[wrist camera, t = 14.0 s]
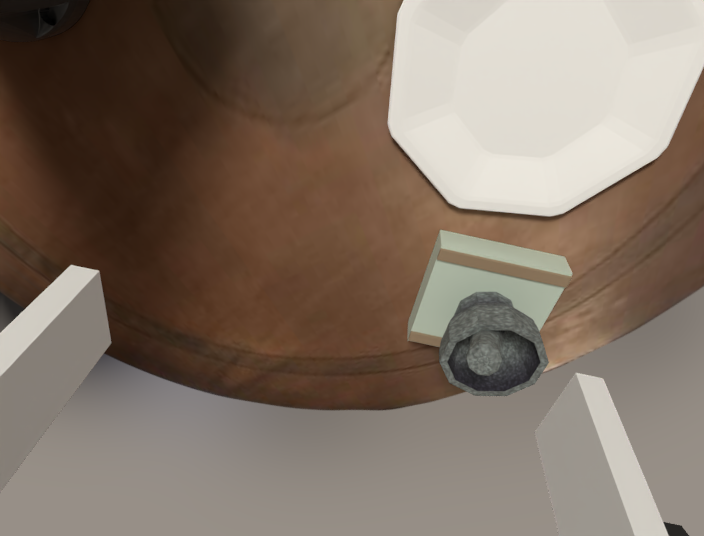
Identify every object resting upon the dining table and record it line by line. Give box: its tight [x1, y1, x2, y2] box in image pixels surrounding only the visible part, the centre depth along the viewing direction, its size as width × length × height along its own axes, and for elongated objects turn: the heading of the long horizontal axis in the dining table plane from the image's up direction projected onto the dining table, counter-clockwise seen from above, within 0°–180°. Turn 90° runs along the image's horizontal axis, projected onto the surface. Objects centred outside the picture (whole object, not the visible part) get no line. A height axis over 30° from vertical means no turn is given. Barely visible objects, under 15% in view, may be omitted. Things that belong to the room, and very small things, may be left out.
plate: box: [388, 0, 704, 217], centre depth 39 cm, size 24×24×2 cm
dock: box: [408, 230, 572, 347], centre depth 50 cm, size 13×13×3 cm
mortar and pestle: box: [439, 292, 549, 396], centre depth 44 cm, size 11×9×12 cm
